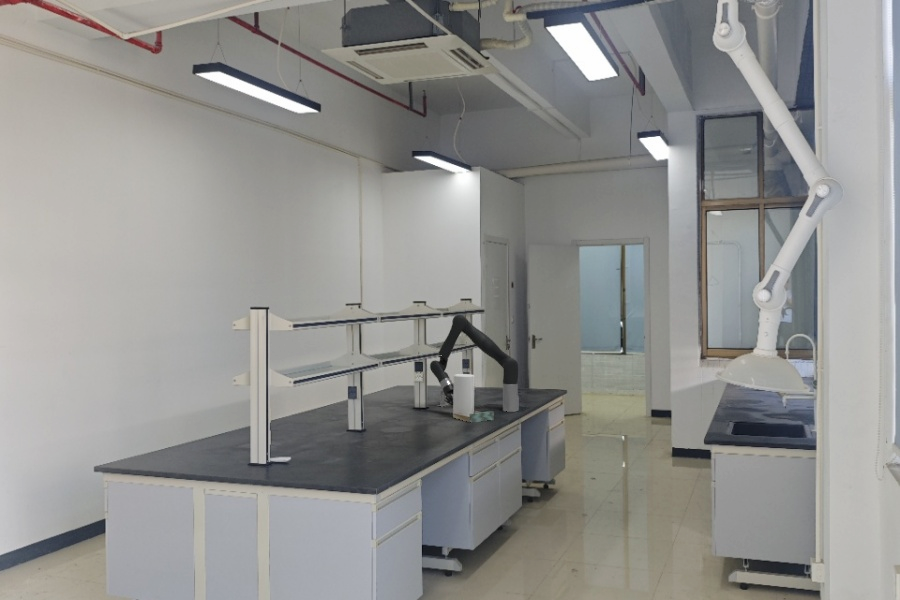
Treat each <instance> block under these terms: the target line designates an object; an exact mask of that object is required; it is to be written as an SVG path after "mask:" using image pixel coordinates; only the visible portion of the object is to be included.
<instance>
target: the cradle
mask: <svg viewBox="0 0 900 600" xmlns="http://www.w3.org/2000/svg"><path fill="white" fill-rule="evenodd" d="M494 414H495V412H494V411H484V412H481V411H478V410H474V413H472V414H470V417H469V416H465V415H460V414H456V413H454V417H453V419H454V418H456V419H455V420H458V419H460V420H459V421H462V420H463V422H466V421H467V423H470V422H471V424H472V422H474V423H481V421H482V422H488V421H487V420H491V421H494V420H495V419H494V417H495V416H494Z"/></svg>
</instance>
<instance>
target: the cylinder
mask: <svg viewBox="0 0 900 600" xmlns="http://www.w3.org/2000/svg"><path fill="white" fill-rule="evenodd" d="M475 378H476V377H475V374H470V373H457V374H456V373H455V374H453V383H454V390H453V405H452V407H453V408H452V417H453V418H454V413H456V414H460V415H465V416H469V417H470V414H472V413H474V411H475Z"/></svg>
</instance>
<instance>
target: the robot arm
mask: <svg viewBox="0 0 900 600" xmlns="http://www.w3.org/2000/svg"><path fill="white" fill-rule="evenodd" d="M461 333H463V334H465V336H467V337H468V338H469V339H470V341H471V342H472V344H474V345H475V346H476V347H477V348H478V349H479V350H480V351H481V352H483V353H484V354H485V355H487V356H489V357H491V359H493V360H494V361H496V362H497V364H499V365H500V367H501V368H502V369H503V377H502V411H503V412H506V411H507V413H512V412H513V413H514V412H517V411H519V410H520V407H519V405H520V404H519V403H520V401H519V400H520V399H519V398H520V396H519V395H518V394H519V393H518V391H519V390H518V381H519V364H518V361H517V360H516V359H515V358H513V357H511V356H509V354H507V353H505V352H504V351H503V350H502V349H501V348H500V347H499V346H498V345H497V343H496V342H495V341H494V340H493V339H491V337H489V336H488V335H487V334H485V333H484V332H483V331H481V330H480V329H478V328H477V327H476V326H474V325H473V324H472V323H471V322H470V321H469V320H468V319H467V317H466V316H465V315H464V314H455V316H454V317H453V318H452V323H451V327H450V330H449V333H448V335H447V336H446V338H445V340H444V341H443V343H442V346H441V347H440V349H439V351H438V353H440V354H439V355H442V356H438V358H439V360H432V361H431V362H430V364H429V368H430V371H431V372H432V374H433V376H434V377H435V378H436V379H437V381H438V383H439V385H440V389H441V388H442V390H443V395H444V394H445V396H446V398H445V399H444V398H443V402H444V401H446V403H449V404H450V405H449V406H452V407H453V390H454V385H453V383H454V382H453V381H452V380H451V378H450V376H449V374H448V373H447V372H446V369H447V367H448V360H449V357H450V355H451V354H452V352H453V349H454V347H455V344H456V343H457V341H458V339H459V336H460V335H461ZM450 402H451V403H450Z"/></svg>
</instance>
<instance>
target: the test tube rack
mask: <svg viewBox="0 0 900 600" xmlns="http://www.w3.org/2000/svg"><path fill="white" fill-rule="evenodd" d="M452 383H453V385H454V382H452ZM436 391H437V392H438V391H439V404H438V405H436V407H437V406H445V405H448V403H447V402H446V401H444V399H445V398H446V396H445V394H444V392H443V390H442V388H441V387H440V388H439V389H436ZM450 403H451V402H450ZM448 406H449V405H448ZM445 407H446V406H445Z"/></svg>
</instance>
